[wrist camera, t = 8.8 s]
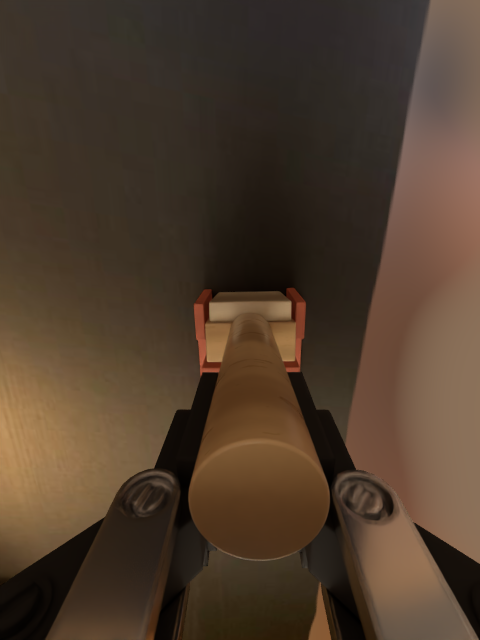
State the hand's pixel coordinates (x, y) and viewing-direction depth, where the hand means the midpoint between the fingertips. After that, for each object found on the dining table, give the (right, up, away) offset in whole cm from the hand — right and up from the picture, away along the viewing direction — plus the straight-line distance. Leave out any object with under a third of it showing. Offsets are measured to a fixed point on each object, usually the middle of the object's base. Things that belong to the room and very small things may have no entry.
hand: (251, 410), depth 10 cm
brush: (0, +4, +1) cm, 4 cm away
